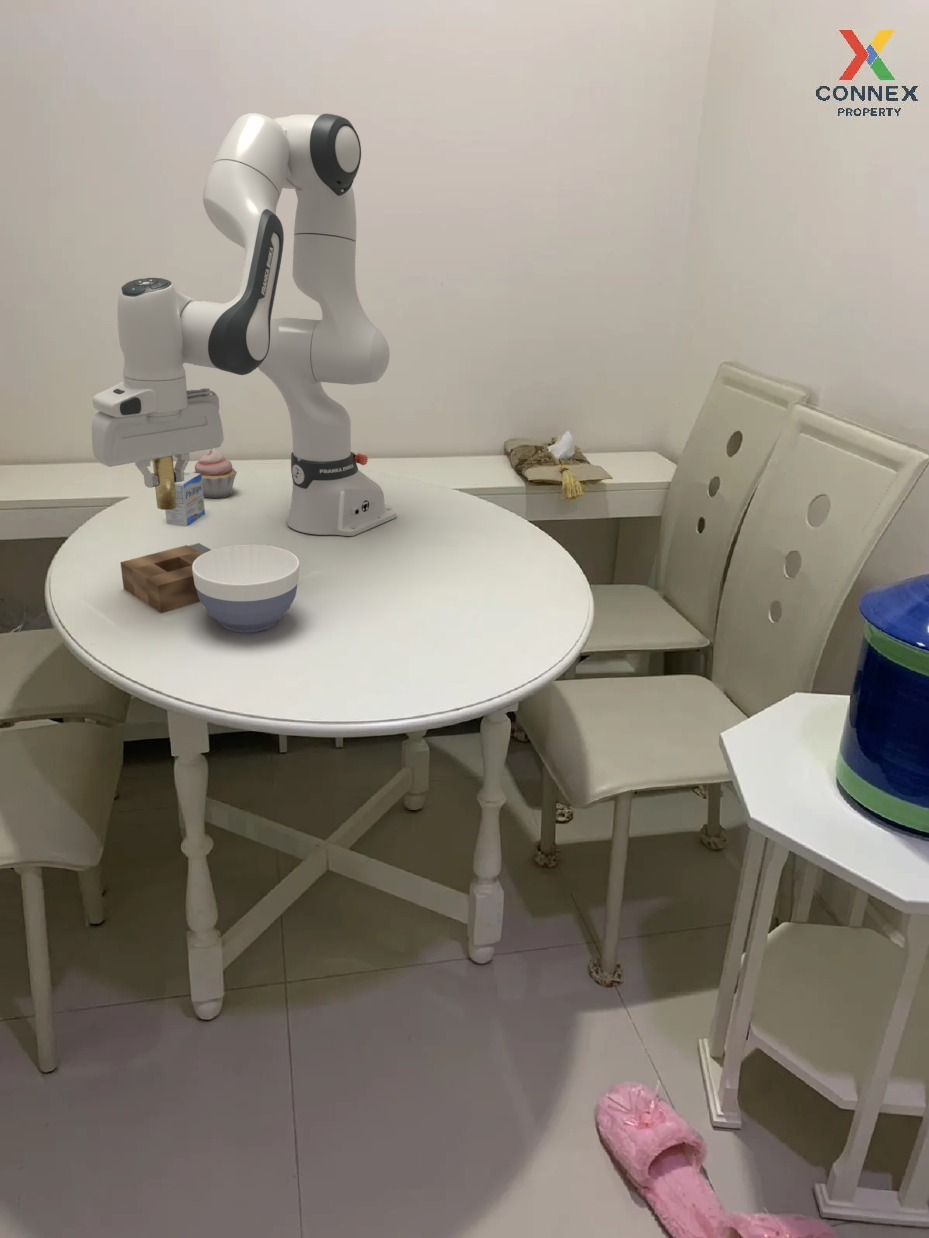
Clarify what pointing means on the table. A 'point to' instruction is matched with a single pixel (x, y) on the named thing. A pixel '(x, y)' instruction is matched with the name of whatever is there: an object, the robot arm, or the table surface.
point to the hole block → (162, 578)
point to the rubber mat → (200, 548)
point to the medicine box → (187, 501)
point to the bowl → (246, 585)
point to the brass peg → (165, 483)
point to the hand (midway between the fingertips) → (164, 483)
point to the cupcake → (215, 474)
